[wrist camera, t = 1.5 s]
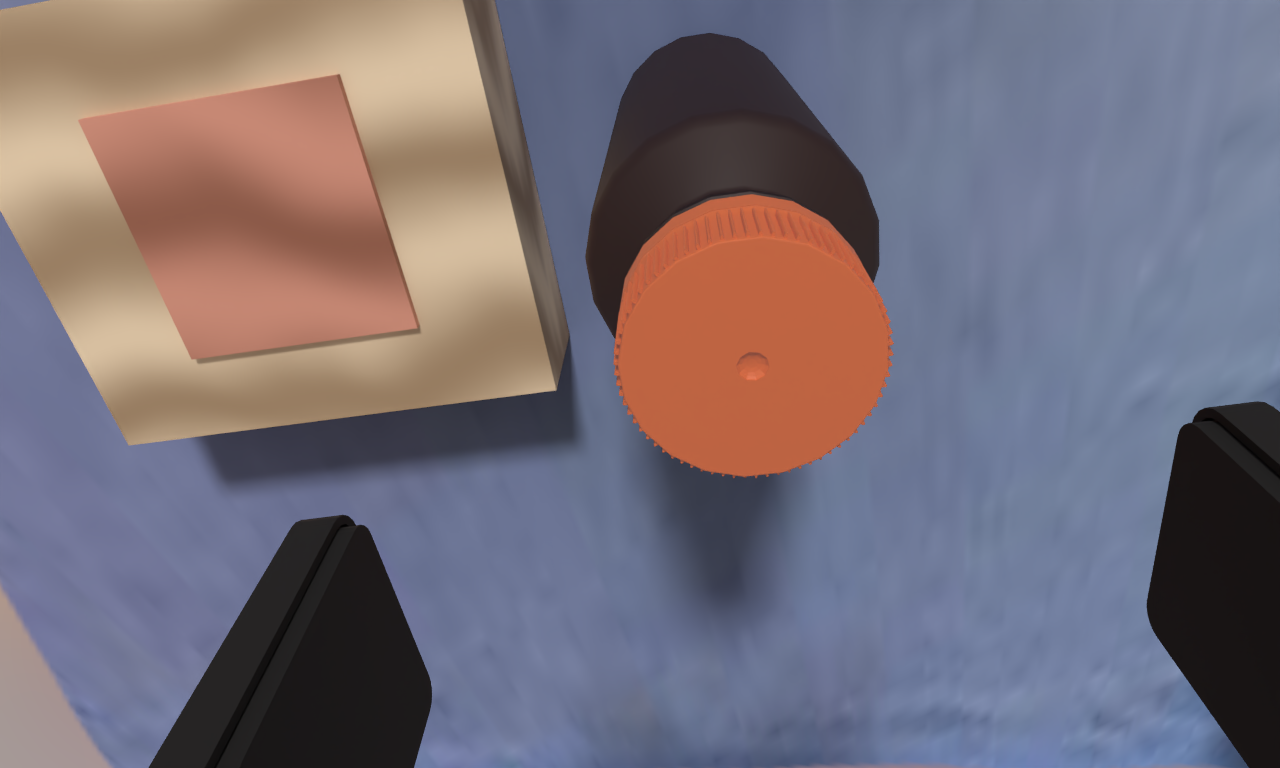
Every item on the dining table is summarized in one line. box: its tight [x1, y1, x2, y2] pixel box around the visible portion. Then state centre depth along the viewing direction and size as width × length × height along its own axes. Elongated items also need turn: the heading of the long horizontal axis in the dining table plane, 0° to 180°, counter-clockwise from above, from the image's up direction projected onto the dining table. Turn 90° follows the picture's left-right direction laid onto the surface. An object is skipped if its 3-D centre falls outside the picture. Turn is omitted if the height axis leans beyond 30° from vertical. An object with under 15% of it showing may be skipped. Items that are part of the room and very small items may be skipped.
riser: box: [0, 0, 569, 445], centre depth 31 cm, size 16×18×5 cm
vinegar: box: [585, 33, 894, 478], centre depth 23 cm, size 7×7×20 cm
